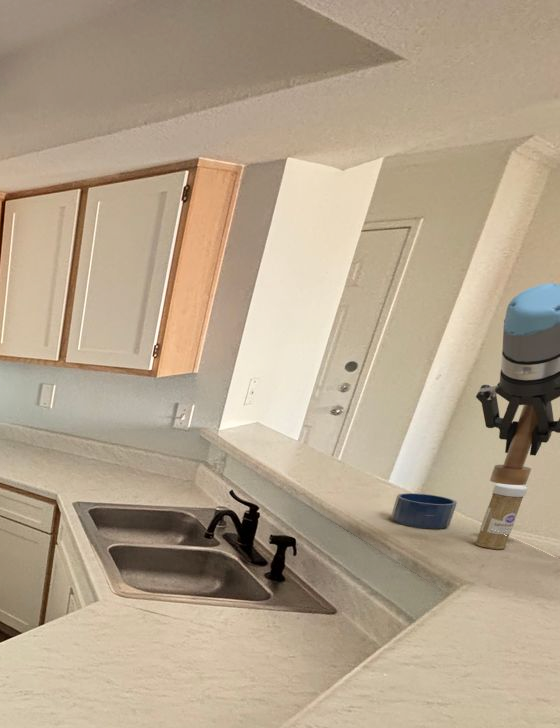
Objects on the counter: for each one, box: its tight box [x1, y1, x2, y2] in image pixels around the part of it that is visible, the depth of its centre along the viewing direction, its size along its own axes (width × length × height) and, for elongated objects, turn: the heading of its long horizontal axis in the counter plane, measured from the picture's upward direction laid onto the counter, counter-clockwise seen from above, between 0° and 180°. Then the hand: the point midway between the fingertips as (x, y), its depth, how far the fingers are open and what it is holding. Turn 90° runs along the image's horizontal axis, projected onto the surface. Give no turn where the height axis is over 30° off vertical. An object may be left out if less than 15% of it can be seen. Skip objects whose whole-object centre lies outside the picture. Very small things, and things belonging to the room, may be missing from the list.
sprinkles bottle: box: [474, 483, 528, 550], centre depth 122 cm, size 5×5×14 cm
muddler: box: [489, 405, 538, 486], centre depth 112 cm, size 5×5×18 cm
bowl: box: [390, 492, 458, 530], centre depth 139 cm, size 10×10×6 cm
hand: (523, 448), depth 115 cm, fingers closed on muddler, 3 cm apart
